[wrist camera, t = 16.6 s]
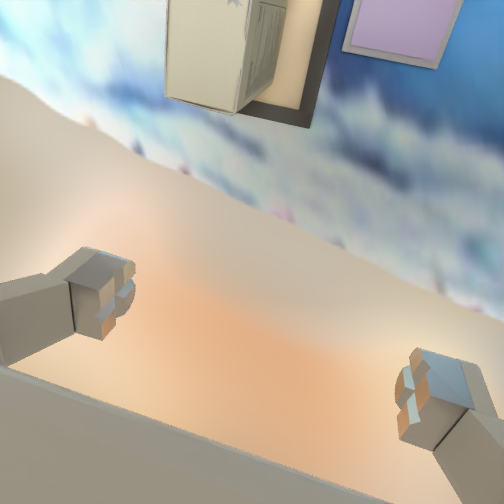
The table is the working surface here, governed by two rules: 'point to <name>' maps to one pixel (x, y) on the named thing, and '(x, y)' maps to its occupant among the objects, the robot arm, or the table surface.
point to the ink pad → (402, 30)
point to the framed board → (298, 64)
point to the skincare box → (221, 51)
